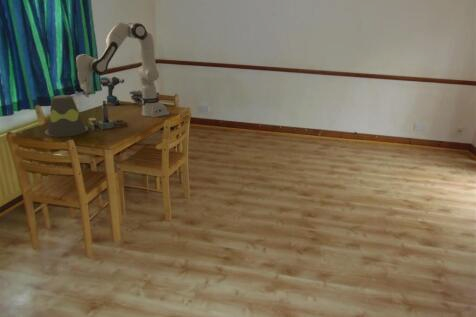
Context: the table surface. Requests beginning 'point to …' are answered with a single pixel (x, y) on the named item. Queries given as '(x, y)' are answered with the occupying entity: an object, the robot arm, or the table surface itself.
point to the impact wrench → (111, 88)
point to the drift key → (93, 121)
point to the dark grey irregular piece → (138, 97)
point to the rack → (119, 123)
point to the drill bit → (105, 112)
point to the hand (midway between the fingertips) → (87, 96)
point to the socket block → (102, 125)
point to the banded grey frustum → (64, 118)
